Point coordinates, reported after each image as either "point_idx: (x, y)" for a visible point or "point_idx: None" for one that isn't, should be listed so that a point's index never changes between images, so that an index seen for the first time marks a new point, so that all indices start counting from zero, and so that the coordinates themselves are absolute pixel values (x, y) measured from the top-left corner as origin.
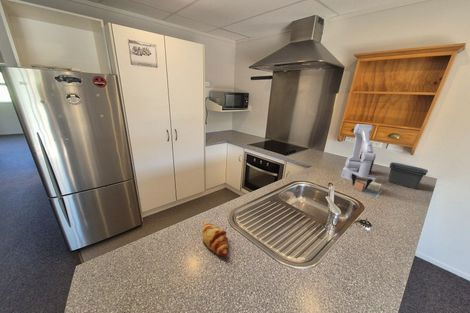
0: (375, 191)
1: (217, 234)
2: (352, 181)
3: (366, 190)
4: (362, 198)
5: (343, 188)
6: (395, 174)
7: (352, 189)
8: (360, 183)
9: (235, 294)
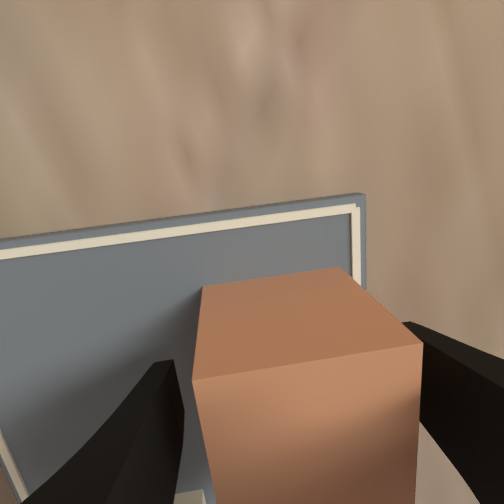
0: None
1: None
2: (496, 358)
3: None
4: (52, 4)
5: (471, 136)
6: None
7: (343, 211)
8: (301, 414)
9: None
